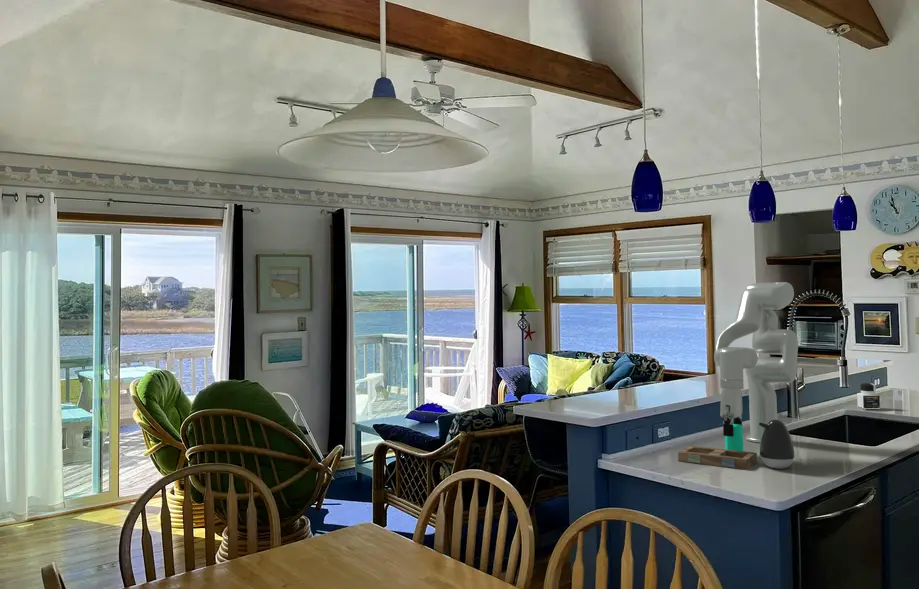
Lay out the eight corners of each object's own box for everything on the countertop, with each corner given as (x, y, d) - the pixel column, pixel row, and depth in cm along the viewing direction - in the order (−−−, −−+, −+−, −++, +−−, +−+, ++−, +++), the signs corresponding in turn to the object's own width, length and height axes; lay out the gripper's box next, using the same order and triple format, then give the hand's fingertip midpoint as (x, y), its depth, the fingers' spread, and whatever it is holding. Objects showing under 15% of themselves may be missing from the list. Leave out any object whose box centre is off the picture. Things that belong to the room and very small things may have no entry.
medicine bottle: (863, 410, 316) (862, 384, 316) (857, 408, 323) (856, 382, 323) (880, 410, 315) (879, 384, 315) (873, 407, 322) (872, 382, 322)
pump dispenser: (754, 463, 224) (752, 417, 224) (786, 462, 224) (784, 416, 224) (767, 471, 214) (765, 422, 214) (800, 470, 214) (799, 422, 214)
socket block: (691, 454, 240) (690, 445, 240) (756, 461, 226) (756, 452, 227) (678, 461, 230) (677, 452, 230) (746, 469, 217) (745, 460, 217)
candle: (721, 454, 238) (720, 420, 238) (734, 452, 241) (733, 418, 241) (734, 457, 233) (733, 422, 233) (747, 455, 235) (746, 420, 235)
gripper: (728, 381, 246) (729, 429, 245) (712, 386, 232) (713, 436, 232) (750, 383, 241) (751, 431, 241) (735, 387, 228) (736, 438, 227)
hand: (732, 434), depth 236 cm, fingers open, 9 cm apart
